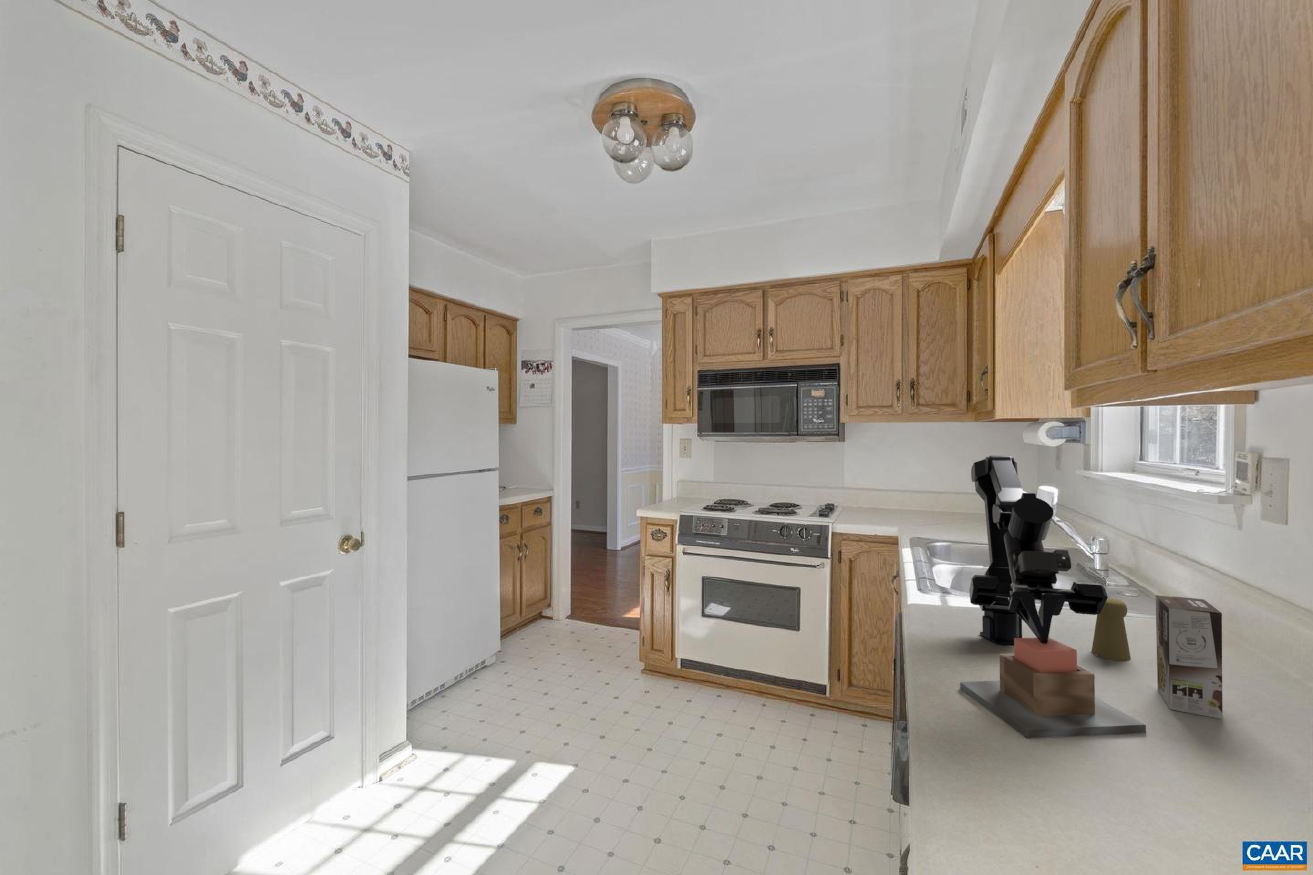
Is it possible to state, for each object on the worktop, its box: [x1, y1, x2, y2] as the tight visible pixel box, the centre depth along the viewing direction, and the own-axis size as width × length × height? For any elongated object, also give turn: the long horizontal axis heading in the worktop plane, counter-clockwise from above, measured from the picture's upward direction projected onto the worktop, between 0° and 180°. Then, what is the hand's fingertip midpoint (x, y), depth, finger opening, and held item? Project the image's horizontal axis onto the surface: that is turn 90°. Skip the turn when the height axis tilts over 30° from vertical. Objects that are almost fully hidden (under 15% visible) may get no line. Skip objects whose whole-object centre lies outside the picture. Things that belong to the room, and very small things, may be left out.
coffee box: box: [1155, 594, 1223, 720], centre depth 91 cm, size 9×6×16 cm
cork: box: [1091, 597, 1132, 662], centre depth 111 cm, size 6×6×11 cm
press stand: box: [959, 652, 1147, 739], centre depth 90 cm, size 18×16×7 cm
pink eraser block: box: [1013, 636, 1078, 673], centre depth 90 cm, size 6×6×6 cm
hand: (1044, 641), depth 90 cm, fingers closed, pressing on pink eraser block
